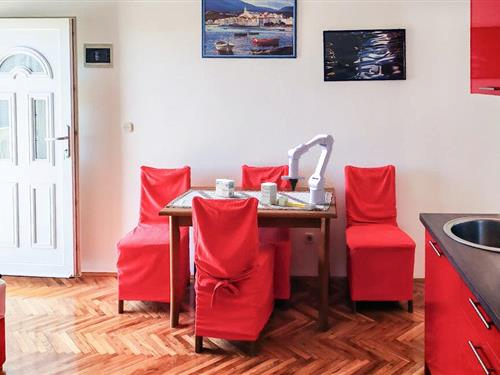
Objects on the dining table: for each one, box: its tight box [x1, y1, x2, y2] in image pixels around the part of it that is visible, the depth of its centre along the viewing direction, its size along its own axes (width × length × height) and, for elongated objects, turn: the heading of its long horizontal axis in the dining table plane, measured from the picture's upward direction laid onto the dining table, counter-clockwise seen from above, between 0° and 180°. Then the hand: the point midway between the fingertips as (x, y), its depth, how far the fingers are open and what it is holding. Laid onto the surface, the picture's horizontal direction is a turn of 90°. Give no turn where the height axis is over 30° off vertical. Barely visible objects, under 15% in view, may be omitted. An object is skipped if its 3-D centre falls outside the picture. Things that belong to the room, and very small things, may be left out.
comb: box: [304, 203, 317, 210], centre depth 384 cm, size 4×7×3 cm, turn 152°
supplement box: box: [260, 182, 278, 206], centre depth 397 cm, size 7×7×13 cm
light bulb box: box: [215, 178, 235, 198], centre depth 419 cm, size 11×7×11 cm, turn 58°
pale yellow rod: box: [273, 198, 307, 209], centre depth 390 cm, size 24×4×4 cm, turn 62°
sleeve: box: [278, 195, 289, 207], centre depth 393 cm, size 4×5×5 cm
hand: (293, 191), depth 388 cm, fingers closed
